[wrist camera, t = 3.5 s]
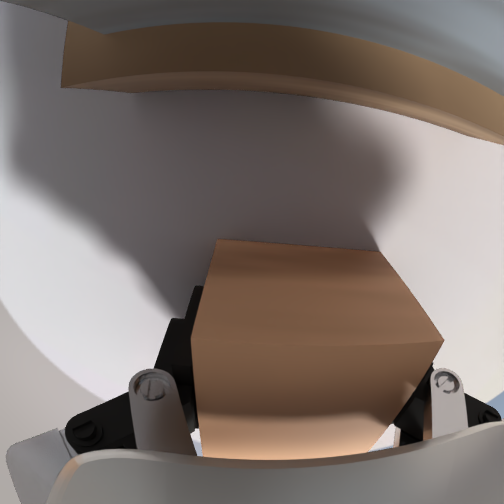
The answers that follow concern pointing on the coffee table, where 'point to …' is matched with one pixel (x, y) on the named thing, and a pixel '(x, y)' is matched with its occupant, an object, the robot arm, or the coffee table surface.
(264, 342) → the terracotta block
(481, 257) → the coffee table surface
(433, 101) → the brick tower
